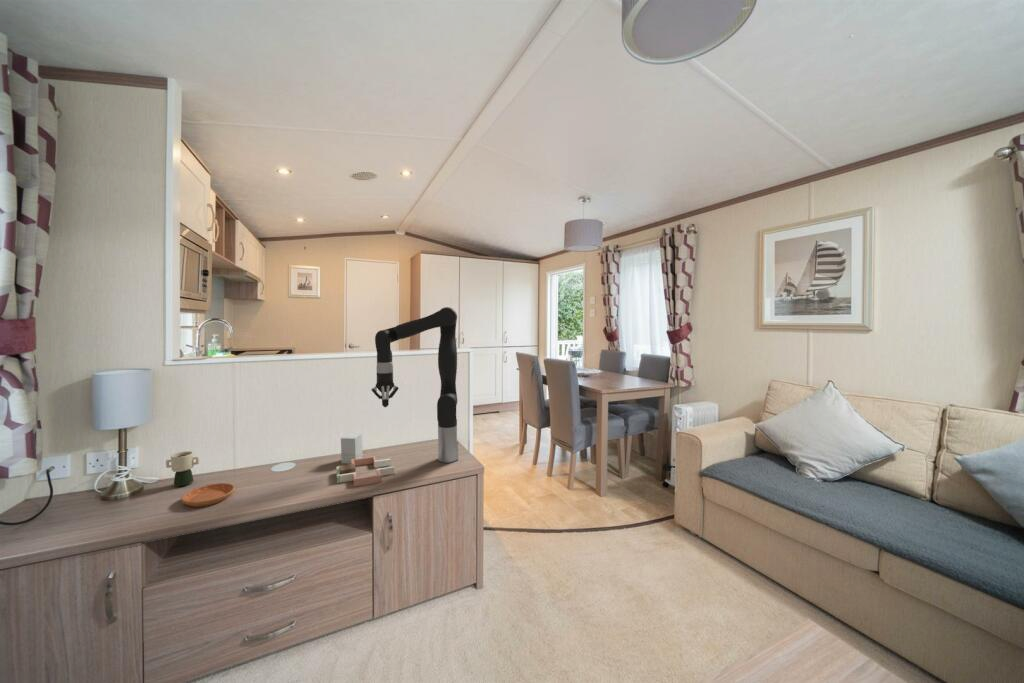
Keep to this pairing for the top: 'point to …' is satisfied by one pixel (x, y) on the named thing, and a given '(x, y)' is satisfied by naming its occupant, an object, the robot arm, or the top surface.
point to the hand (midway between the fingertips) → (385, 406)
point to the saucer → (208, 494)
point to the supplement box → (351, 447)
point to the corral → (366, 479)
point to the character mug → (182, 467)
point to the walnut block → (347, 468)
